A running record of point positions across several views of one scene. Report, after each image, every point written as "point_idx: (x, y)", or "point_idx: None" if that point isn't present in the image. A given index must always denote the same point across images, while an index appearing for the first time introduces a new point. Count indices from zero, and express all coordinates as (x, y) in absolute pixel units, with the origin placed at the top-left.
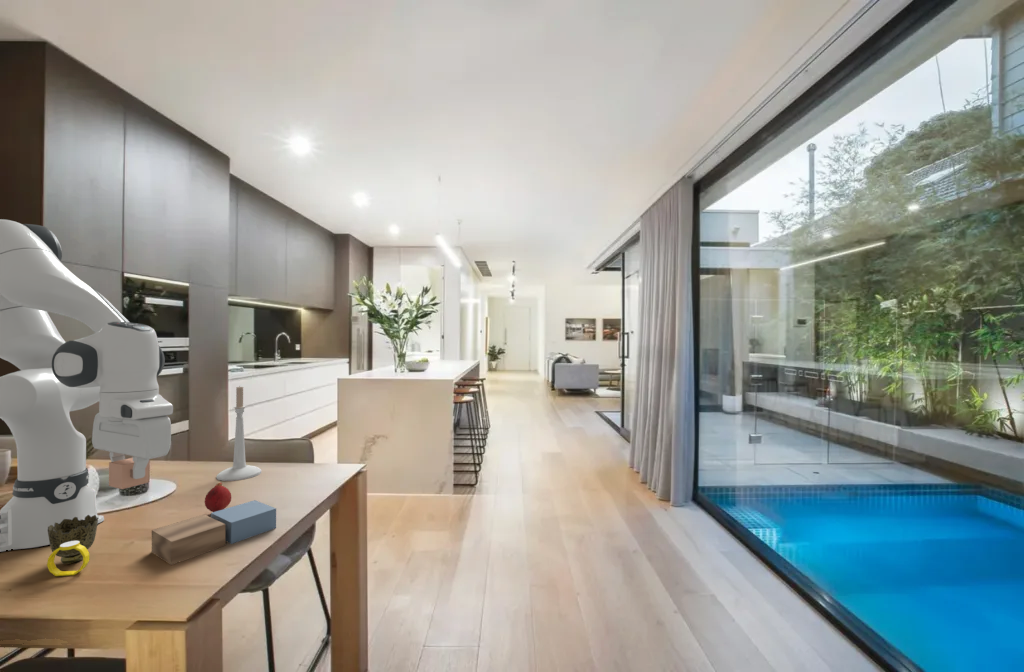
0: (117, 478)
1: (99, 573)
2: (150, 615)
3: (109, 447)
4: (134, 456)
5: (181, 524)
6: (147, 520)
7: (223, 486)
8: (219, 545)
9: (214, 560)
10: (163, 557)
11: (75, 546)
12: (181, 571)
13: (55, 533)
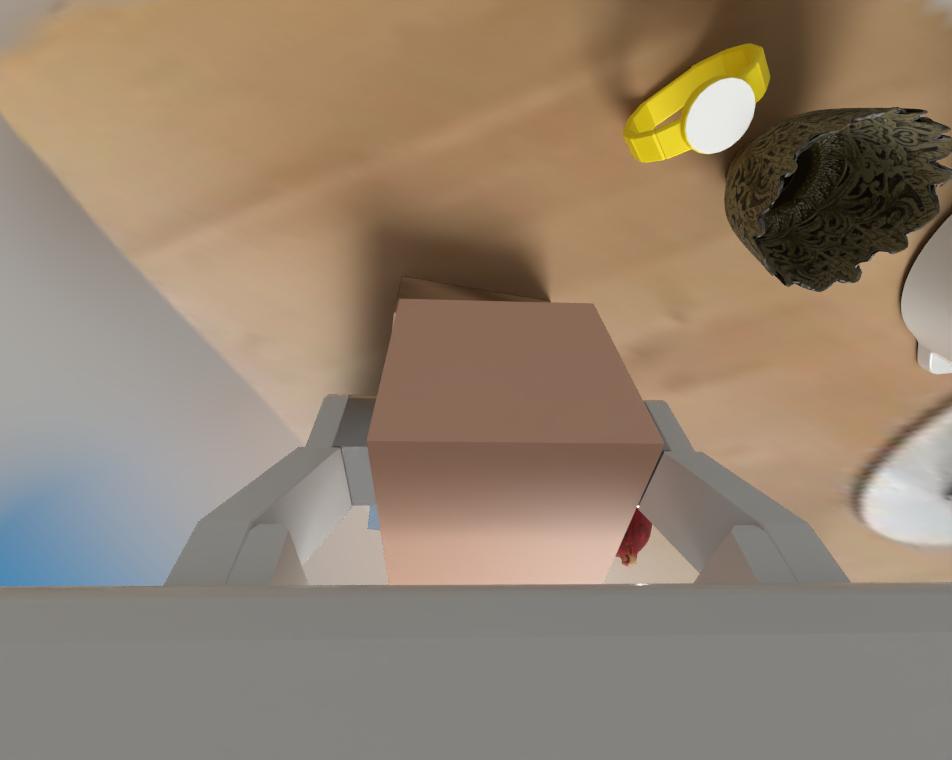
0: (467, 344)
1: (564, 151)
2: (68, 44)
3: (816, 651)
4: (104, 586)
5: None
6: (771, 407)
7: (618, 556)
8: None
9: (319, 336)
10: (462, 289)
11: (680, 122)
12: (329, 264)
13: (854, 116)
